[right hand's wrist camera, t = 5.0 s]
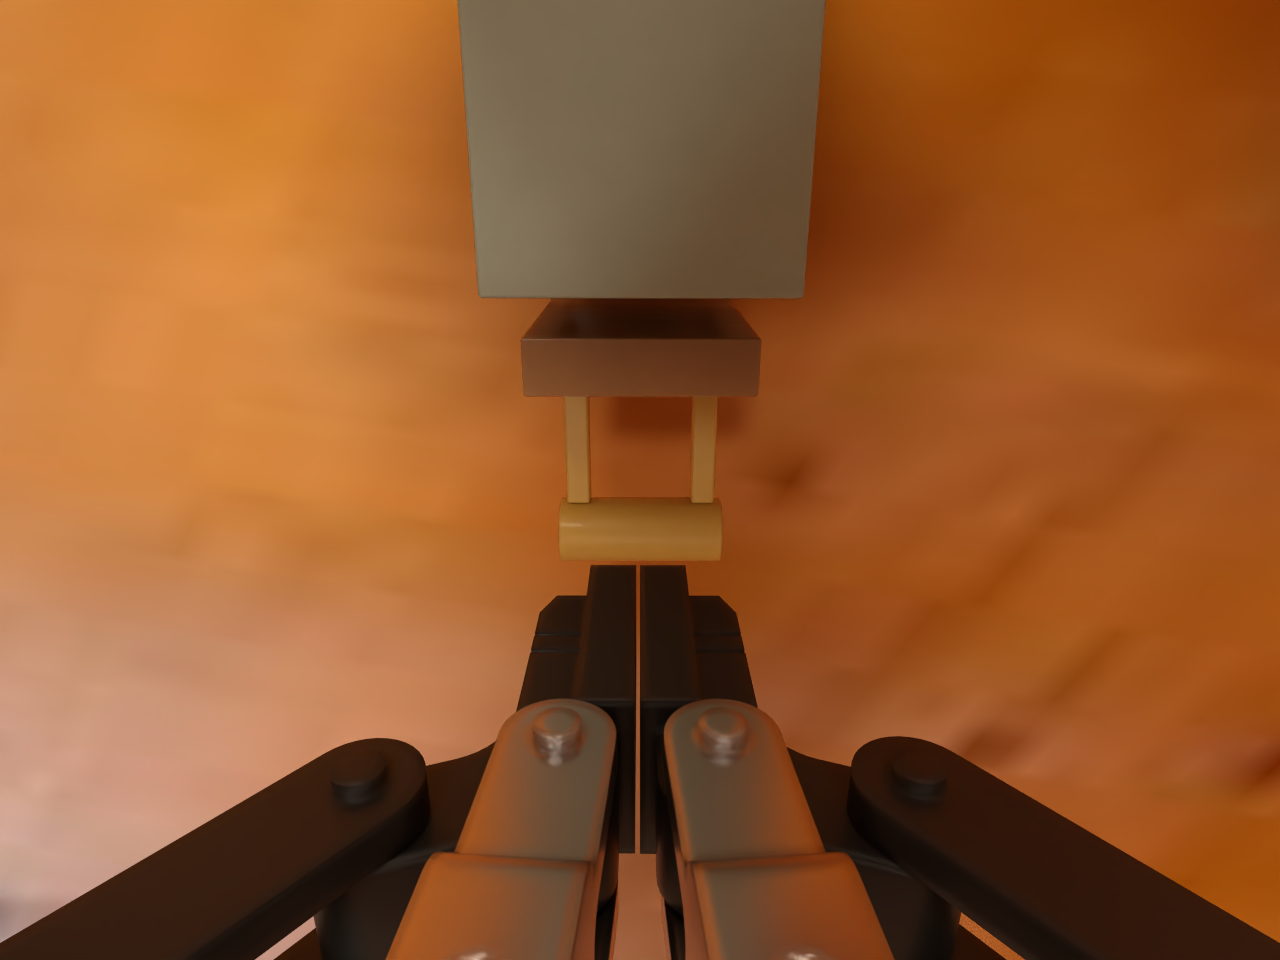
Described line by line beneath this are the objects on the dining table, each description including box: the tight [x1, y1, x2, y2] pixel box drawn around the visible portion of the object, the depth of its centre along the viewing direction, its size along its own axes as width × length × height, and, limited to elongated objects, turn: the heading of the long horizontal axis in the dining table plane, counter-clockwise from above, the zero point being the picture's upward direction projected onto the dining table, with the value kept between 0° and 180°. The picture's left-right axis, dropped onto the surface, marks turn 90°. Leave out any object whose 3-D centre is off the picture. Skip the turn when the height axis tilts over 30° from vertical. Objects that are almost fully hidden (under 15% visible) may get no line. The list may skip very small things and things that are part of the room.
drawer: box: [521, 298, 761, 561], centre depth 18 cm, size 22×5×9 cm, turn 0°
